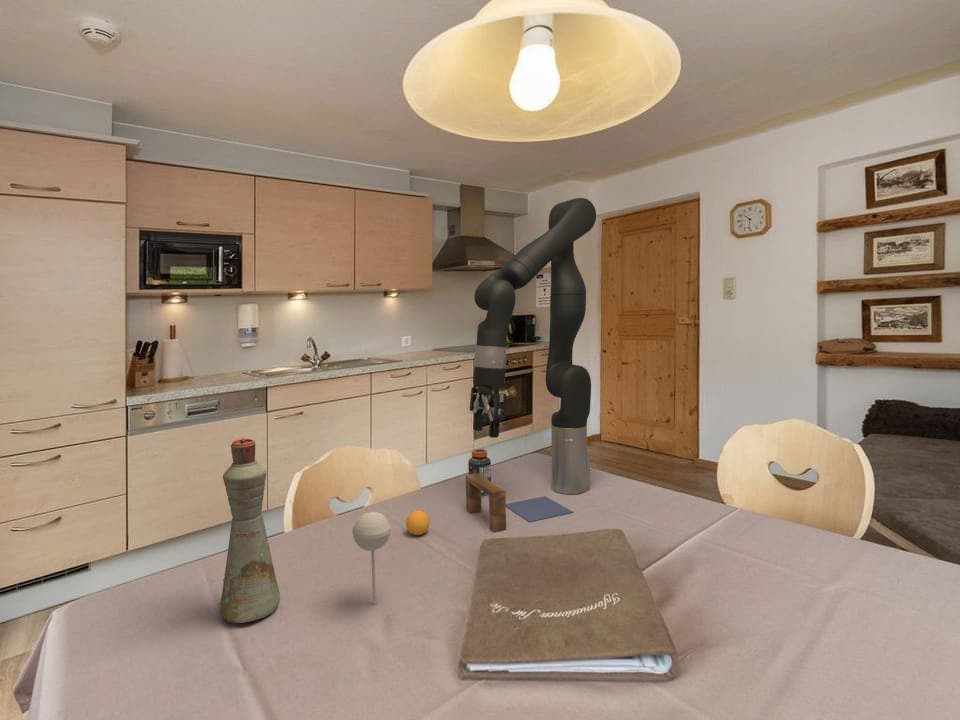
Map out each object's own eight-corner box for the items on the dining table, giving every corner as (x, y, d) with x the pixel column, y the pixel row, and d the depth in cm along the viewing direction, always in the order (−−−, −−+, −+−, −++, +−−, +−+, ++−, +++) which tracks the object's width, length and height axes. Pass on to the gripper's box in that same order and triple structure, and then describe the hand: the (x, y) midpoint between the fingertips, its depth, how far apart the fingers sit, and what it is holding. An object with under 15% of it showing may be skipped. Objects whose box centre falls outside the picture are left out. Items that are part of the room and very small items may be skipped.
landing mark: (544, 496, 129) (544, 496, 129) (573, 512, 118) (573, 511, 118) (503, 505, 124) (503, 504, 124) (529, 522, 113) (529, 521, 113)
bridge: (477, 508, 122) (477, 473, 121) (506, 529, 110) (505, 490, 109) (466, 510, 121) (465, 475, 120) (493, 532, 108) (493, 492, 108)
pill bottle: (465, 490, 135) (464, 449, 134) (485, 487, 137) (484, 446, 136) (474, 497, 130) (473, 454, 129) (495, 494, 132) (494, 451, 131)
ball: (425, 527, 112) (424, 505, 111) (433, 536, 107) (432, 513, 107) (403, 532, 109) (402, 509, 109) (410, 540, 105) (409, 517, 104)
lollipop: (401, 602, 82) (398, 512, 81) (370, 618, 78) (367, 523, 76) (378, 589, 86) (375, 503, 85) (348, 604, 82) (344, 513, 81)
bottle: (218, 634, 75) (206, 447, 72) (222, 603, 83) (211, 434, 81) (281, 619, 78) (272, 440, 76) (279, 591, 86) (270, 428, 84)
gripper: (518, 368, 115) (513, 439, 115) (490, 364, 128) (486, 428, 128) (489, 367, 111) (484, 440, 112) (463, 362, 124) (458, 428, 125)
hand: (485, 433), depth 120 cm, fingers open, 8 cm apart
